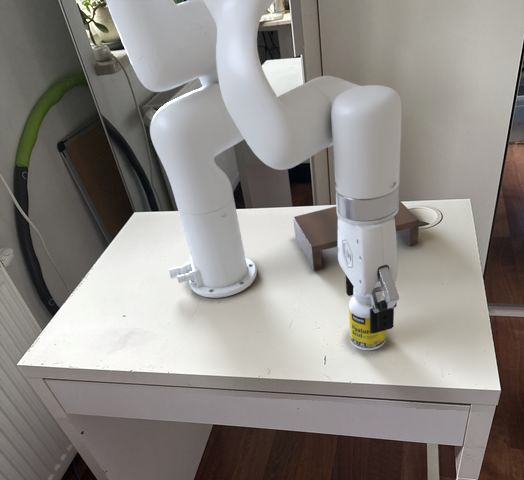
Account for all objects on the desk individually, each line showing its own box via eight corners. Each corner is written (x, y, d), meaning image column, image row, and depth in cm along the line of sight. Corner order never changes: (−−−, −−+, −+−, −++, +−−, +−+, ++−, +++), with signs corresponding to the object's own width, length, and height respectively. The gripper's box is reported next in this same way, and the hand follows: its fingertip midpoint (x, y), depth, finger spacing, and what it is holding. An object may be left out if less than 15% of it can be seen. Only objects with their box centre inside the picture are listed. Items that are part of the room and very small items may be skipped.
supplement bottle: (346, 349, 78) (344, 297, 71) (353, 326, 82) (352, 274, 75) (383, 353, 76) (384, 300, 70) (389, 329, 80) (390, 277, 73)
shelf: (313, 270, 94) (311, 246, 91) (295, 239, 103) (292, 215, 100) (417, 244, 96) (419, 218, 92) (390, 215, 105) (391, 191, 101)
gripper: (316, 179, 70) (324, 284, 81) (364, 240, 57) (366, 355, 68) (369, 166, 70) (370, 272, 82) (429, 223, 57) (420, 340, 69)
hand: (368, 310), depth 75 cm, fingers open, 8 cm apart
